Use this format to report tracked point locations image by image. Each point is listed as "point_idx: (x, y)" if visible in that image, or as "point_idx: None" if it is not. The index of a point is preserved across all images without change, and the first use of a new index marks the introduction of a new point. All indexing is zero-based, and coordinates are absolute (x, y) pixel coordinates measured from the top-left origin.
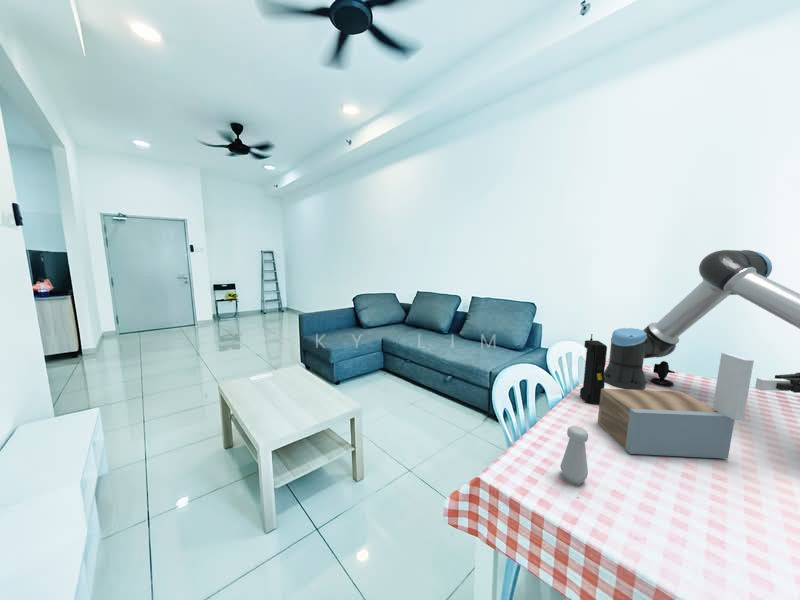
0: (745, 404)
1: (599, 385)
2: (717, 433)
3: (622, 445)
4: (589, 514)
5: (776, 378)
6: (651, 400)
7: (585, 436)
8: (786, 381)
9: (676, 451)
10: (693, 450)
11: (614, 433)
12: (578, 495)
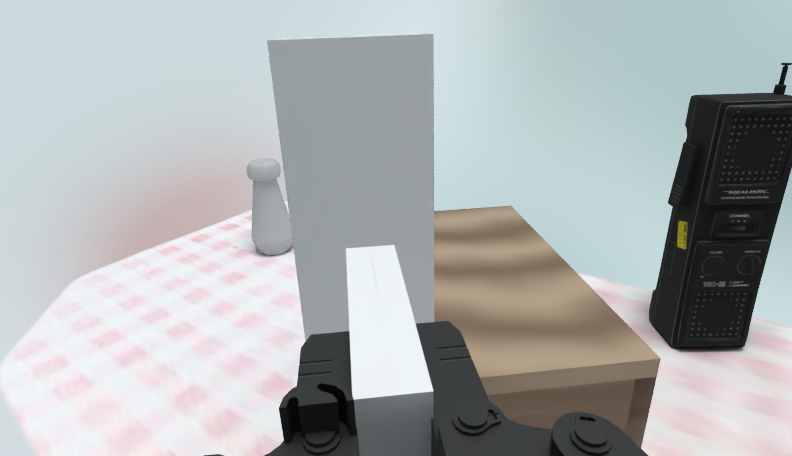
0: (303, 315)
1: (676, 269)
2: None
3: None
4: (202, 250)
5: (547, 430)
6: (461, 256)
7: (247, 168)
8: (352, 372)
9: None
10: None
11: None
12: (238, 248)
